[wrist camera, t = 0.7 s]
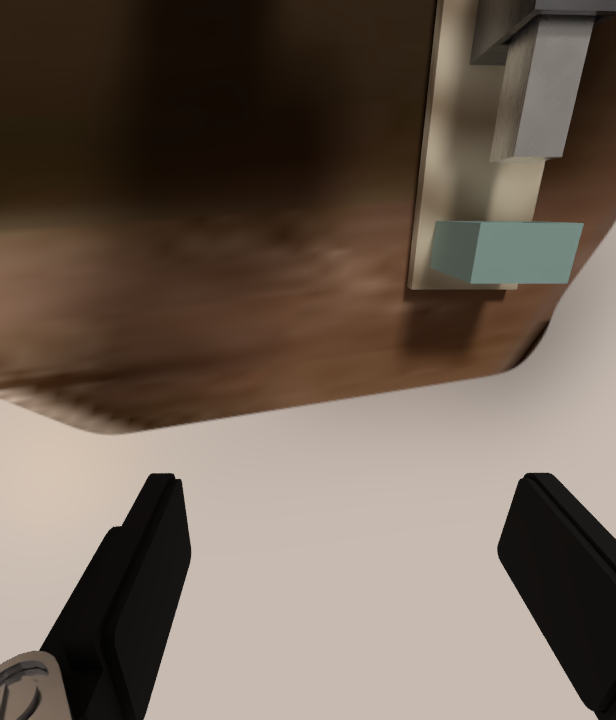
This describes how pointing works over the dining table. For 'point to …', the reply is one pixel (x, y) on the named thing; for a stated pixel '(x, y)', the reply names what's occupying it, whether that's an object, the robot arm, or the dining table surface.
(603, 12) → the sleeve
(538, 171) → the base board
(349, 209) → the dining table surface
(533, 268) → the socket block
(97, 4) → the dining table surface
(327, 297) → the dining table surface
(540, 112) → the tube
